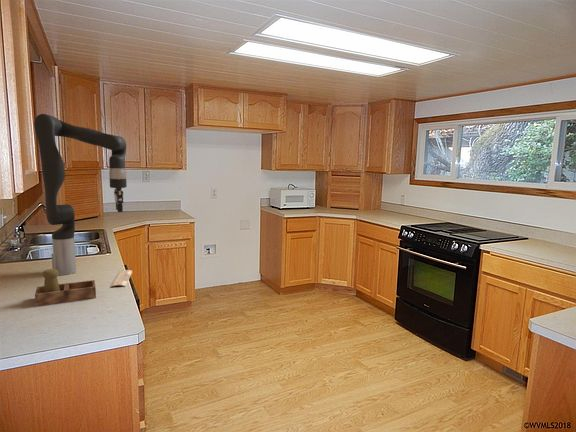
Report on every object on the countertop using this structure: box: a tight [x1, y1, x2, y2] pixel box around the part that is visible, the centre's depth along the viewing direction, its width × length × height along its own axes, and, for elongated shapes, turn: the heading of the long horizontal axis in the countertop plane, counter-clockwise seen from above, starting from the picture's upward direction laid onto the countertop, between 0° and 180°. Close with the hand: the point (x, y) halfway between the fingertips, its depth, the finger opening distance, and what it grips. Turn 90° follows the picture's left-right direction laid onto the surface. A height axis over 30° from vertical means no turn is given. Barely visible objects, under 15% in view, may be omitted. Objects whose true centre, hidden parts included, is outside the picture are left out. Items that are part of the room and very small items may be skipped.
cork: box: [42, 268, 60, 293], centre depth 152 cm, size 6×6×11 cm
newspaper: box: [110, 269, 133, 288], centre depth 181 cm, size 24×7×2 cm, turn 14°
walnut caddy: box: [34, 279, 97, 307], centre depth 155 cm, size 20×10×4 cm, turn 118°
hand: (119, 211), depth 190 cm, fingers open, 8 cm apart
